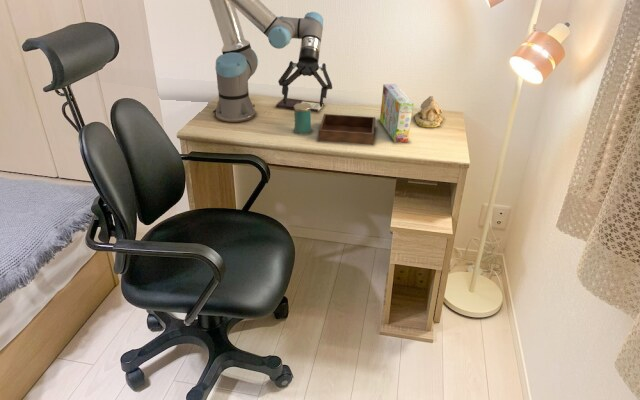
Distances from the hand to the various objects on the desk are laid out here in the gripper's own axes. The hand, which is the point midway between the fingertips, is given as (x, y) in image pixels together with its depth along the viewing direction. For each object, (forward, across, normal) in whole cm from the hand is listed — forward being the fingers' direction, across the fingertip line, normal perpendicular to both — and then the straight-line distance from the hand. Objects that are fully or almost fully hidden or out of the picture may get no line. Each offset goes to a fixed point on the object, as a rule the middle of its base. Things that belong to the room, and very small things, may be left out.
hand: (302, 104), depth 177 cm
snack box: (+4, +34, +9) cm, 36 cm away
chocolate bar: (-9, -5, +22) cm, 25 cm away
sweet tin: (+9, 0, +5) cm, 10 cm away
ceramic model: (-4, +48, +18) cm, 52 cm away
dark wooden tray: (+9, +17, +5) cm, 20 cm away
